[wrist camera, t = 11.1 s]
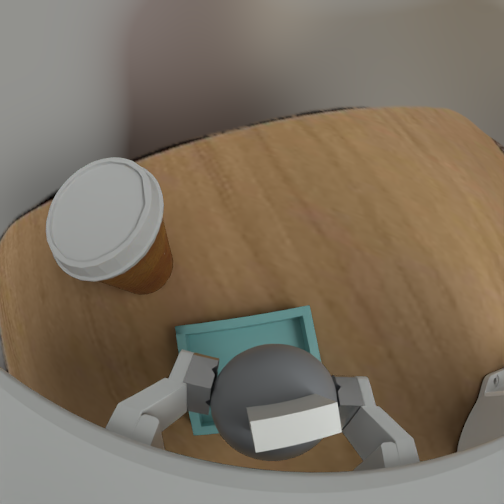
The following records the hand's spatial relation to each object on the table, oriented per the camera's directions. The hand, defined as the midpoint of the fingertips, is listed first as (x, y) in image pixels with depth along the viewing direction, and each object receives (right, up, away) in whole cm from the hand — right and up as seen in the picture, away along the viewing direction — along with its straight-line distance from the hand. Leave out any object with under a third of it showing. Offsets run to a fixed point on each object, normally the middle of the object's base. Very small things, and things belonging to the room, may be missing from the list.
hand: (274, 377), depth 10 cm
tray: (-1, -6, +14) cm, 15 cm away
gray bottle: (0, -3, +5) cm, 5 cm away
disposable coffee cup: (-12, +3, +17) cm, 21 cm away
